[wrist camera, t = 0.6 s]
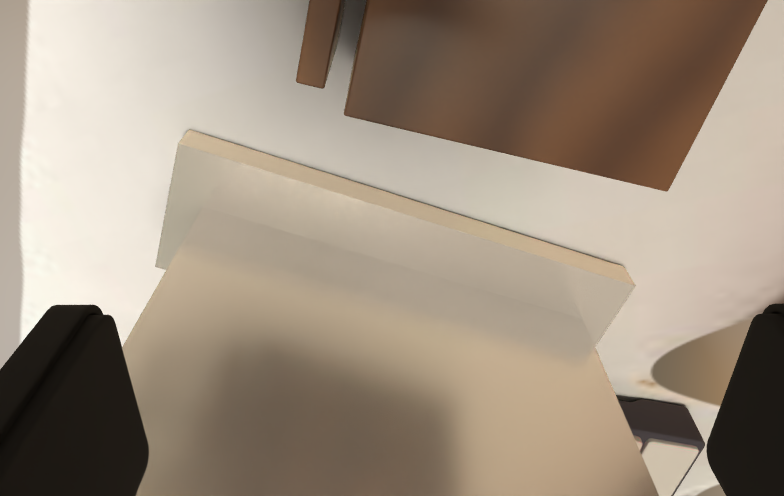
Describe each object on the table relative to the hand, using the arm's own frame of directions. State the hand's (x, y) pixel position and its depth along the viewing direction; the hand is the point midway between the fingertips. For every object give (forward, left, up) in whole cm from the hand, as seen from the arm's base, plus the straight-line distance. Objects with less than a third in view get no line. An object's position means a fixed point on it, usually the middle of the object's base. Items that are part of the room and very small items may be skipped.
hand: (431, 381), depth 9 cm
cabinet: (-4, +5, -27) cm, 28 cm away
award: (+14, +3, -27) cm, 31 cm away
